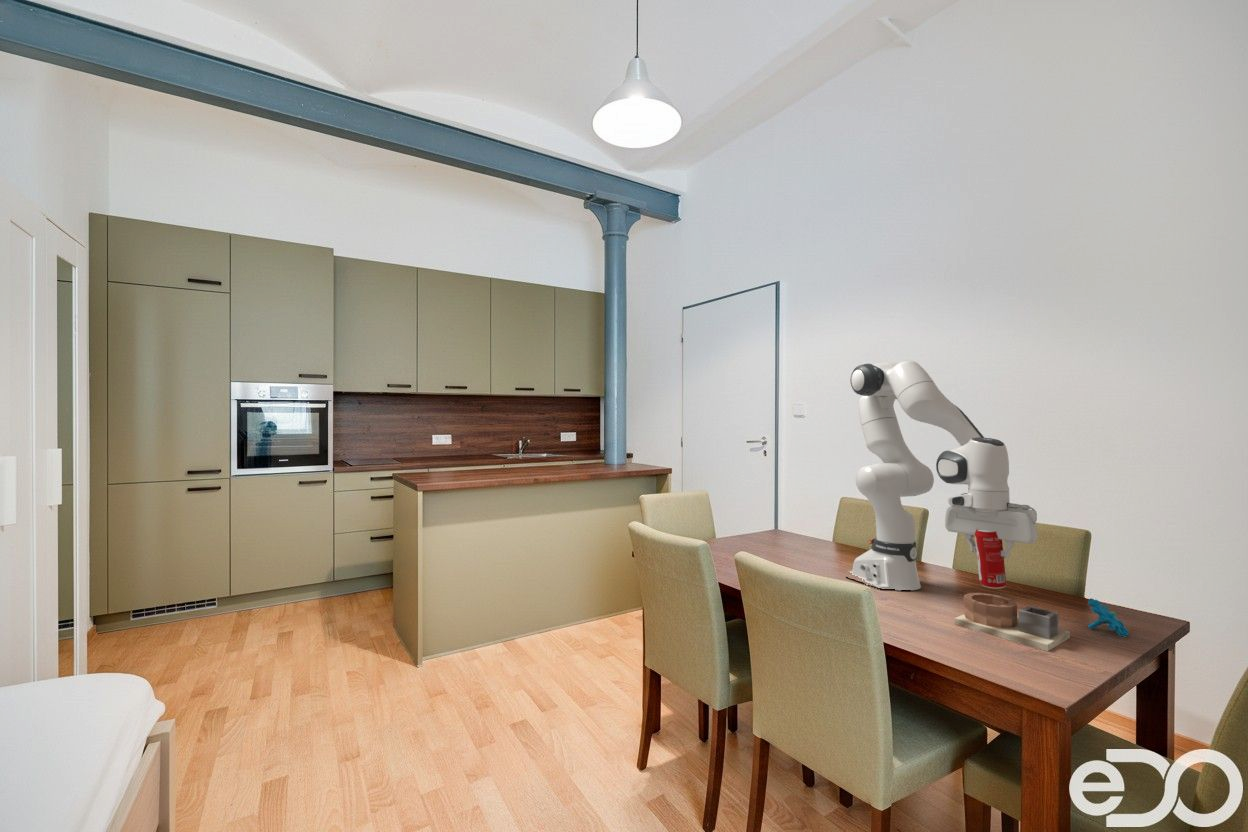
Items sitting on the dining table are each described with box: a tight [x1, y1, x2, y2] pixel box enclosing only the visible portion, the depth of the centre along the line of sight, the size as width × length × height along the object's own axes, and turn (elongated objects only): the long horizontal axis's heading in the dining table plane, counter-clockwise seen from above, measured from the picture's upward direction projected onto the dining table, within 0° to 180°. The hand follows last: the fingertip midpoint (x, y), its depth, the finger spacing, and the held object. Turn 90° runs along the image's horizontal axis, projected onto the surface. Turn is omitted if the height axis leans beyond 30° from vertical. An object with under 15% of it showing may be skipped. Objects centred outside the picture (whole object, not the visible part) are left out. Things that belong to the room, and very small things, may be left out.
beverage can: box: [974, 529, 1007, 590], centre depth 139 cm, size 6×6×15 cm
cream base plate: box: [953, 592, 1071, 652], centre depth 135 cm, size 20×14×6 cm
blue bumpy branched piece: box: [1087, 598, 1130, 637], centre depth 135 cm, size 11×6×10 cm
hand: (989, 554), depth 139 cm, fingers closed on beverage can, 6 cm apart
